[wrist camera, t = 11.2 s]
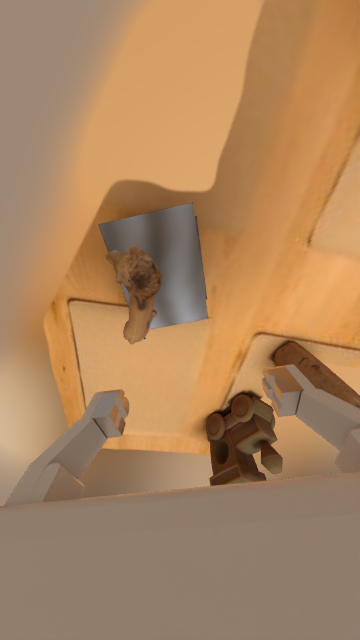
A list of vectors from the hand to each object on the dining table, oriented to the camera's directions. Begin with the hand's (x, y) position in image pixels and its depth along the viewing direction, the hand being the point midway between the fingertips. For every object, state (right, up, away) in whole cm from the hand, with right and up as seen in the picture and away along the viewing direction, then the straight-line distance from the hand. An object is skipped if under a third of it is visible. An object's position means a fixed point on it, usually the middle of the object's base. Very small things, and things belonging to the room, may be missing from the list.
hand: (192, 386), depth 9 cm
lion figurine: (-6, +8, +15) cm, 18 cm away
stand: (-4, +13, +21) cm, 25 cm away
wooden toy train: (+16, -25, +41) cm, 50 cm away
